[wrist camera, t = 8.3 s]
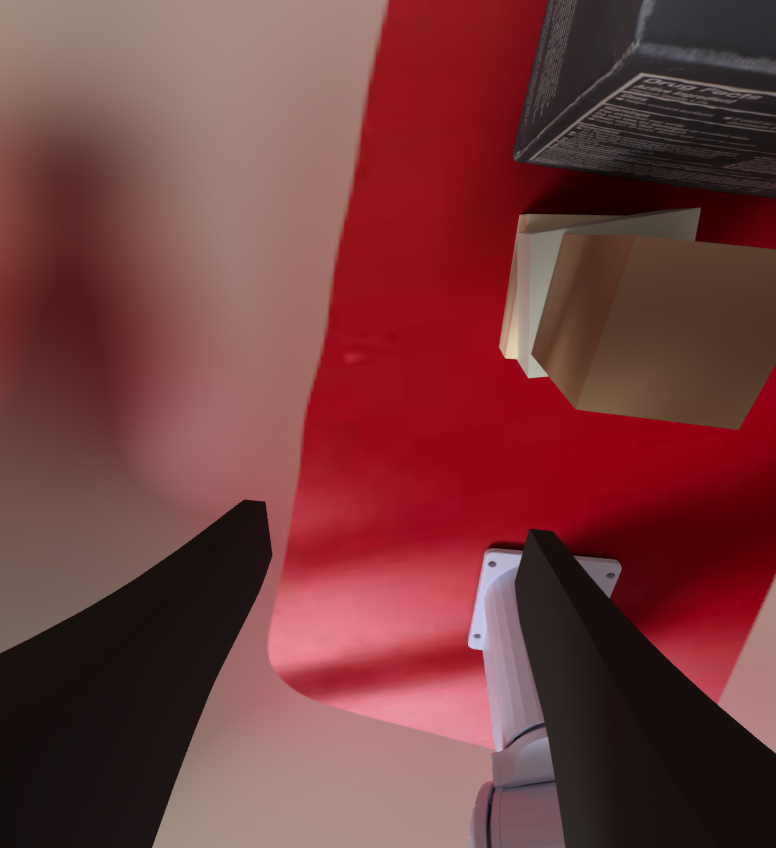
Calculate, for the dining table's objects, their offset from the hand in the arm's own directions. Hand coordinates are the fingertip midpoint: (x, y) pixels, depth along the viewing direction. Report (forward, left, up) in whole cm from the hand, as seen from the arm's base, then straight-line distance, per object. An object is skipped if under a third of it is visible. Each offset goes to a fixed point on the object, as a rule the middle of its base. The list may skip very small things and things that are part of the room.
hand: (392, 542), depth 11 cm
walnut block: (+6, -7, -6) cm, 11 cm away
